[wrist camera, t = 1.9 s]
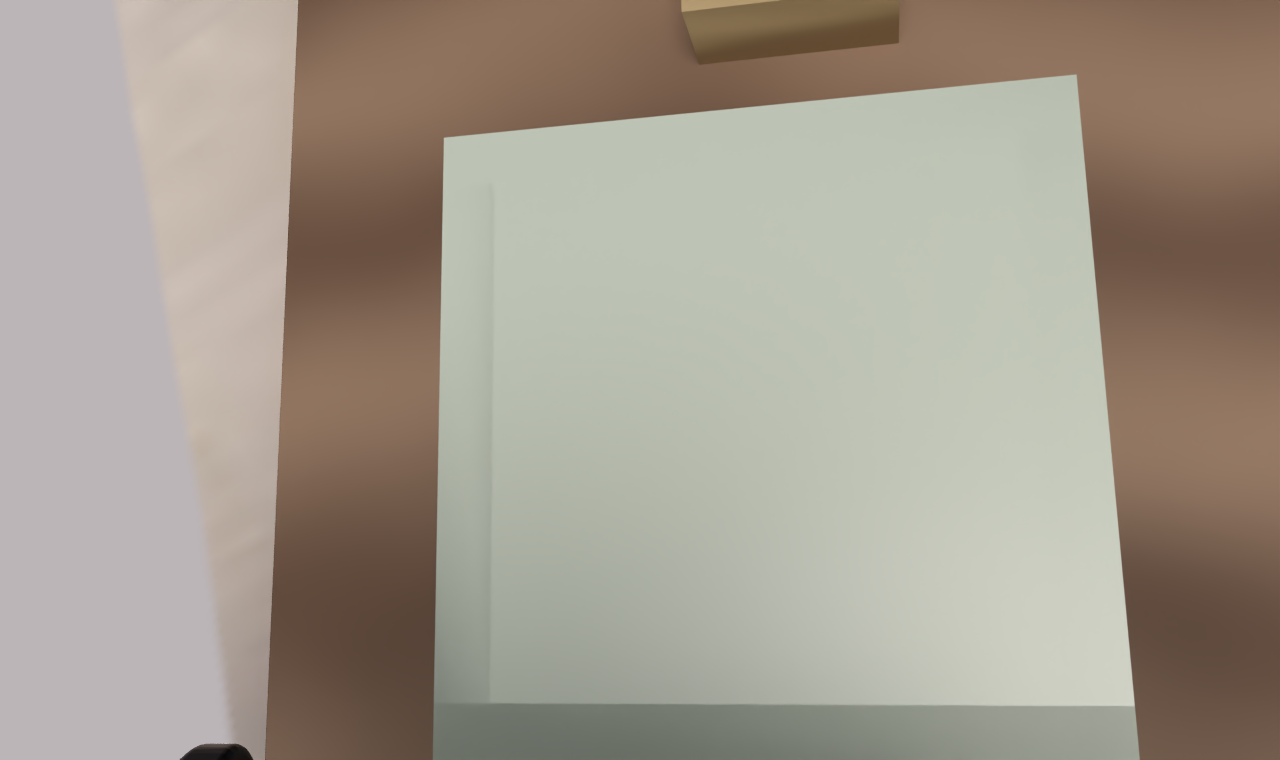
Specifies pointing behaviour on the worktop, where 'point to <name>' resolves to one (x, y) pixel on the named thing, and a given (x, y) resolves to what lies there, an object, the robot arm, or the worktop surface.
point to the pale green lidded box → (779, 438)
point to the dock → (758, 76)
